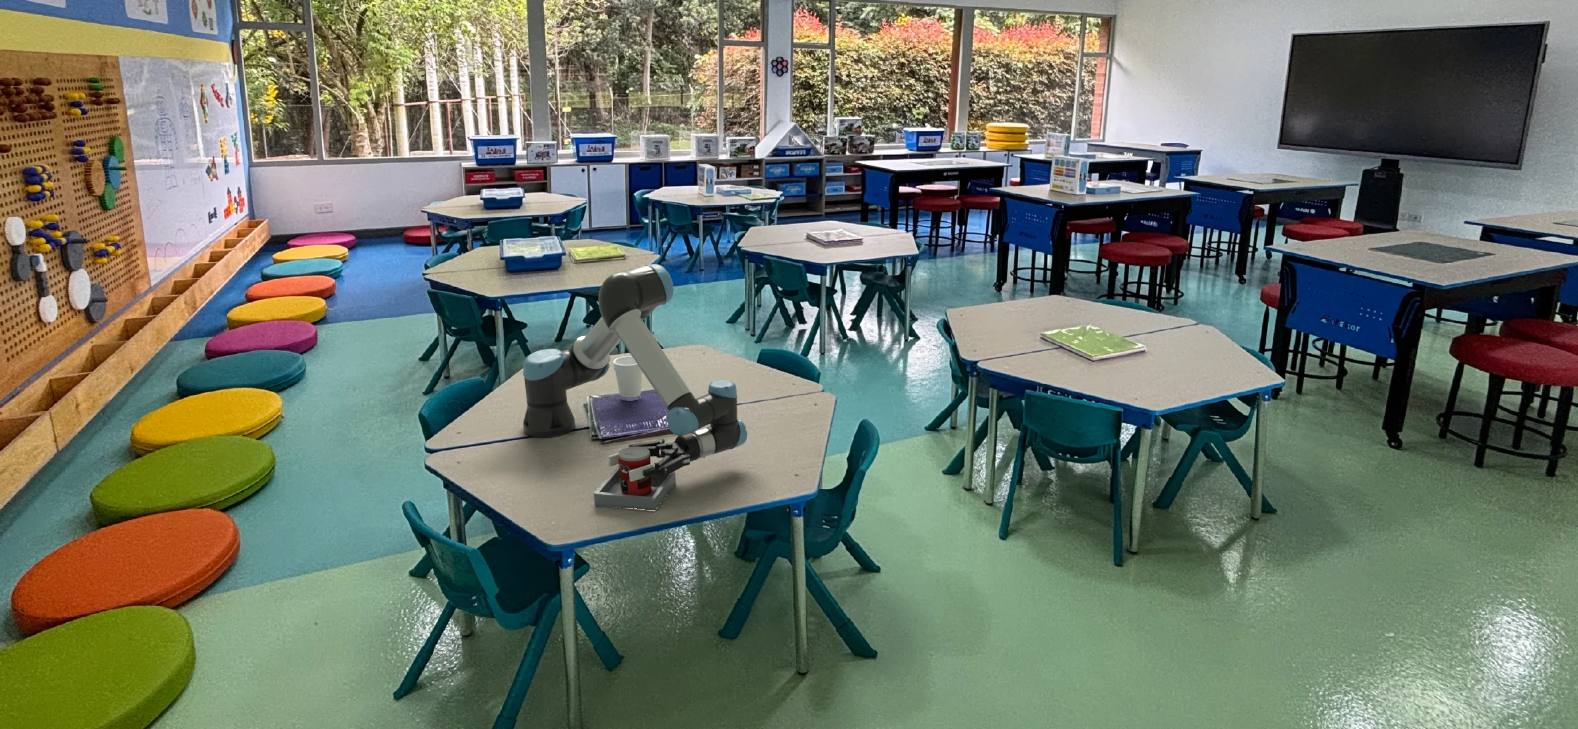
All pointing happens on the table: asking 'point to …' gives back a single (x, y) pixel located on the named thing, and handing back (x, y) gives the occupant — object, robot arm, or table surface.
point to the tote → (613, 496)
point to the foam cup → (628, 376)
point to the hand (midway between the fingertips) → (619, 468)
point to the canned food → (629, 461)
